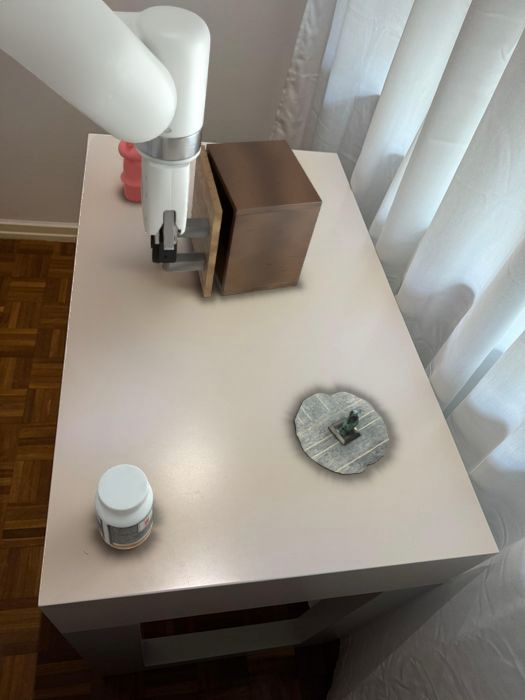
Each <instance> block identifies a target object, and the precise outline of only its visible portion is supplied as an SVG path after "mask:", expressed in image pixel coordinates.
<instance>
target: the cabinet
mask: <svg viewBox="0 0 525 700" xmlns="http://www.w3.org/2000/svg"><path fill="white" fill-rule="evenodd" d="M205 149H206V153H207V157H208V160H209V164H210V168H211V171H212V175H213V179H214V182H215V186H216V190H217V193H218V197H219V201H220V204H221V208H222V218H221V225H220V232H219V240H218V247H217V254H216V261H215V268H214V275H213V276H214V277H215V280H216V283H217V285H218V289H219V291H220V293H221V296H223V297H225V296H231V295H238V294H244V293H252V292H259V291H265V290H266V291H267V290H274V289H279V288H287V287H293V286H294V287H295V286H298V283H299V281H300V278H301V273H302V270H303V267H304V264H305V261H306V257H307V255H308V250H309V247H310V244H311V241H312V238H313V235H314V231H315V228H316V225H317V221H318V218H319V215H320V211H321V208H322V206H323V199H322V198H321V196H320V195H319V193H318V191H317V189H316V187H315V186H314V184H313V183H312V182H311V181H312V180H311V179H310V178H309V177H308V175H307V173H306V171H305V169H304V168H303V166H302V165H301V163H300V161H299V159H298V158H297V156H296V155H295V152H294V151H293V149H292V148H291V145H290V144H289V143H288V141H287V140H286V139H274V140H254V141H237V142H235V141H233V142H218V143H217V142H215V143H206V146H205Z"/></svg>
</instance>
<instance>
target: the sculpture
mask: <svg viewBox="0 0 525 700" xmlns="http://www.w3.org/2000/svg"><path fill="white" fill-rule="evenodd" d="M294 424H295V433H296V436H297V437H298V440H299V443H300V445H301V448H302V449H303V452H305V453H306V455H307V456H308V457H309V458H310V459H311V460H312V461H314V462H315V463H317V464H319V465H320V466H322V467H324V468H326V469H327V470H330V471H332V472H335V473H339V474H342V475H351V474H352V475H353V474H359V473H362V472H364V471H365V470H367V466H368V465H372V464H375V463H377V462H378V461H379V460H381V458H382V457H384V456H385V454H386V450H387V447H388V443H389V441H390V437H389V434H388V433H389V432H388V429H387V426H386V423H385V420H384V419H383V417H382V415H381V414H380V412H378V411H376V410H375V408H374V407H373V405H372V404H371V403H370V402H368V401H367V400H365V399H364V398H361V397H358V396H357V395H354V394H352V393H350V392H347V391H338V392H337V391H336V392H335V393H333V394H326V393H325V392H318V393H314V394H312V395H311V396H308V397H307V398H306V399H303V401H302V403H301V405H300V407H299V409H298V412H297V414H296V416H295V418H294Z"/></svg>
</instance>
